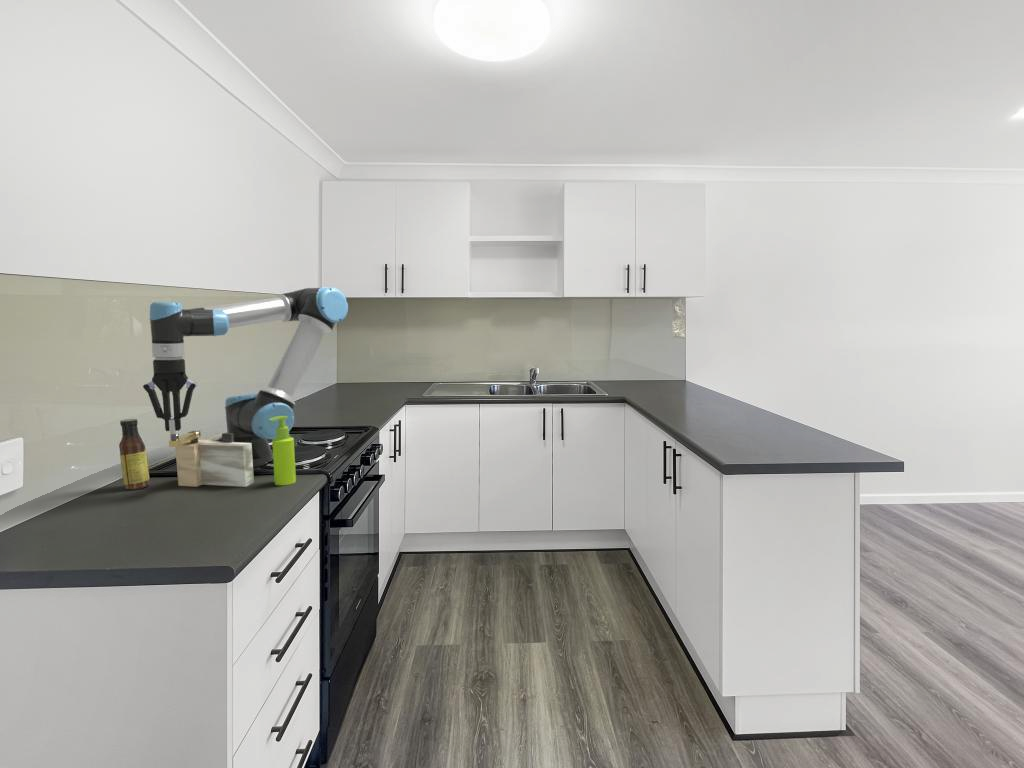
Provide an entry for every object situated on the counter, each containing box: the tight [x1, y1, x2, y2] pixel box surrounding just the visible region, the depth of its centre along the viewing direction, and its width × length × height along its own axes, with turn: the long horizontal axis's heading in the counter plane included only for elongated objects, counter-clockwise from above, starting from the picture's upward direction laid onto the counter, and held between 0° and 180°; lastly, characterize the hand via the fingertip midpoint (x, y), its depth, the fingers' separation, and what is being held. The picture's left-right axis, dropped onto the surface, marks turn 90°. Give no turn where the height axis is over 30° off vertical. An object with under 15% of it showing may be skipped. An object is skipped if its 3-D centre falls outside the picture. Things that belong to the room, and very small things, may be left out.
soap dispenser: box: [269, 416, 297, 486], centre depth 164 cm, size 6×7×20 cm
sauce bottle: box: [118, 418, 150, 491], centre depth 160 cm, size 7×6×20 cm
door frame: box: [174, 432, 255, 488], centre depth 164 cm, size 8×20×15 cm, turn 81°
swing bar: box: [168, 430, 202, 448], centre depth 160 cm, size 13×3×3 cm, turn 5°
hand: (174, 441), depth 157 cm, fingers closed
